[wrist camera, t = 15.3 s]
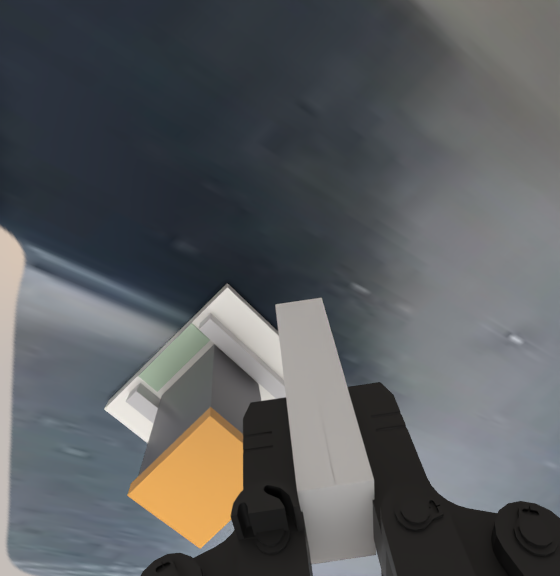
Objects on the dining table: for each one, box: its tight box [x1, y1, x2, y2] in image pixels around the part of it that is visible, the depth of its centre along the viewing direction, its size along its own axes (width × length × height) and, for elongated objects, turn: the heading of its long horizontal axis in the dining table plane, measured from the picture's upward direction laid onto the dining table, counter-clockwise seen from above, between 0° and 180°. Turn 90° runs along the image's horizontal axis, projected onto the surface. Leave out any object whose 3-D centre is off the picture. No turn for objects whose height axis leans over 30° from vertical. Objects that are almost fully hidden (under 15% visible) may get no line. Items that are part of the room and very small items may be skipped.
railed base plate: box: [104, 283, 286, 443], centre depth 37 cm, size 22×14×3 cm, turn 44°
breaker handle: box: [127, 344, 261, 548], centre depth 30 cm, size 5×6×12 cm
